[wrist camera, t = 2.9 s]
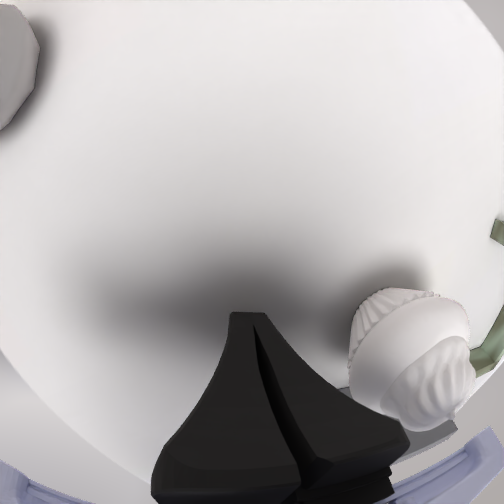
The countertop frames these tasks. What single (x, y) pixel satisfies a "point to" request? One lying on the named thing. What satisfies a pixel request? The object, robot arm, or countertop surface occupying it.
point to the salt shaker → (15, 61)
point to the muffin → (411, 357)
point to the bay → (500, 336)
